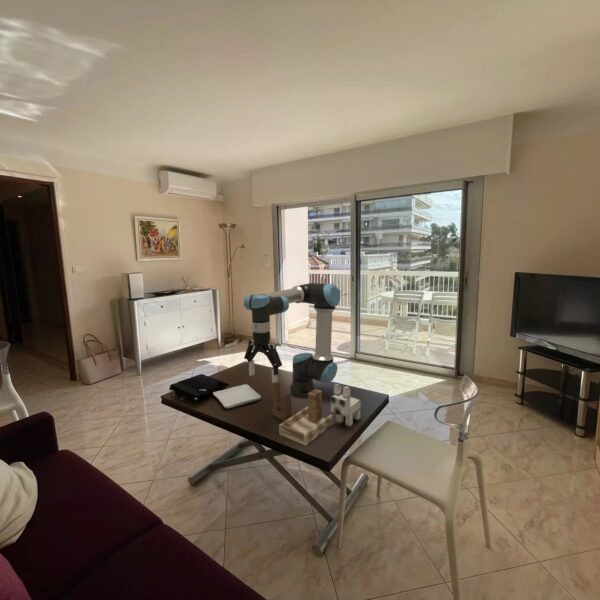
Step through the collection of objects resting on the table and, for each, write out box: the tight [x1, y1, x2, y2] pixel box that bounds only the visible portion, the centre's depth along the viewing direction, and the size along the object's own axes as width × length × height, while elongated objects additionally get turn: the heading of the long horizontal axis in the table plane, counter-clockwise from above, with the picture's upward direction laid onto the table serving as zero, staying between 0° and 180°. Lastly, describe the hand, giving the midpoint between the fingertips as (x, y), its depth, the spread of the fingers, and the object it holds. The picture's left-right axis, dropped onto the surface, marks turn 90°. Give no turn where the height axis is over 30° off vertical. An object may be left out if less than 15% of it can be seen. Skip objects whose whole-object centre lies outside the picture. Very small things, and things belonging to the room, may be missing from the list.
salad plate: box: [212, 383, 262, 409], centre depth 180 cm, size 21×21×3 cm
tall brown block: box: [307, 388, 323, 423], centre depth 153 cm, size 6×4×14 cm, turn 143°
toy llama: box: [330, 382, 362, 428], centre depth 153 cm, size 8×18×20 cm, turn 141°
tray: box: [278, 405, 334, 447], centre depth 148 cm, size 22×15×4 cm
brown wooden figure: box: [271, 380, 292, 422], centre depth 157 cm, size 4×11×18 cm, turn 44°
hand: (263, 378), depth 140 cm, fingers open, 13 cm apart
